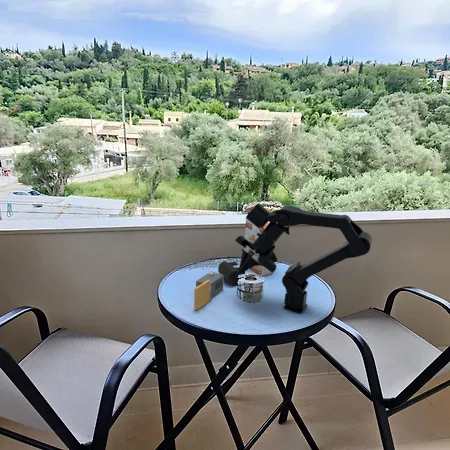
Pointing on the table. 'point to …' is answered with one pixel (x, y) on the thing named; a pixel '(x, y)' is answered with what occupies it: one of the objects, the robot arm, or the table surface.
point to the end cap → (230, 272)
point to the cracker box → (251, 237)
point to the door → (202, 294)
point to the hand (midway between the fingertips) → (239, 273)
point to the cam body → (213, 282)
